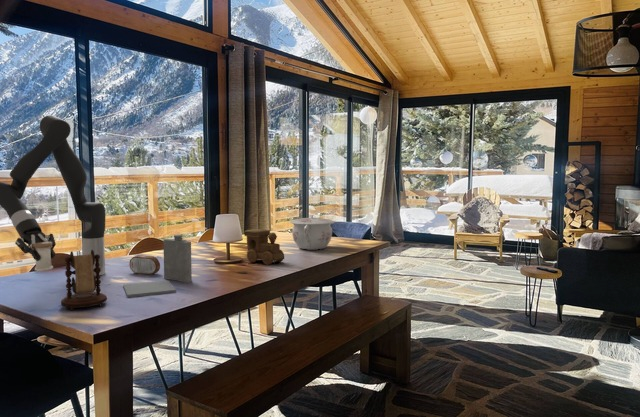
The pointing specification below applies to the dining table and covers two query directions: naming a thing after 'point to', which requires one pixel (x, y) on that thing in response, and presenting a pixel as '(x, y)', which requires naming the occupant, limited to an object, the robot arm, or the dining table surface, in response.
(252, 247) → the wooden toy train
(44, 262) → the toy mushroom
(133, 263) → the tin
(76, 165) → the robot arm
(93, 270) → the scroll
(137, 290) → the mat
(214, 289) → the dining table surface
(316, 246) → the chamber pot
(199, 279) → the dining table surface
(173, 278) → the hip flask
